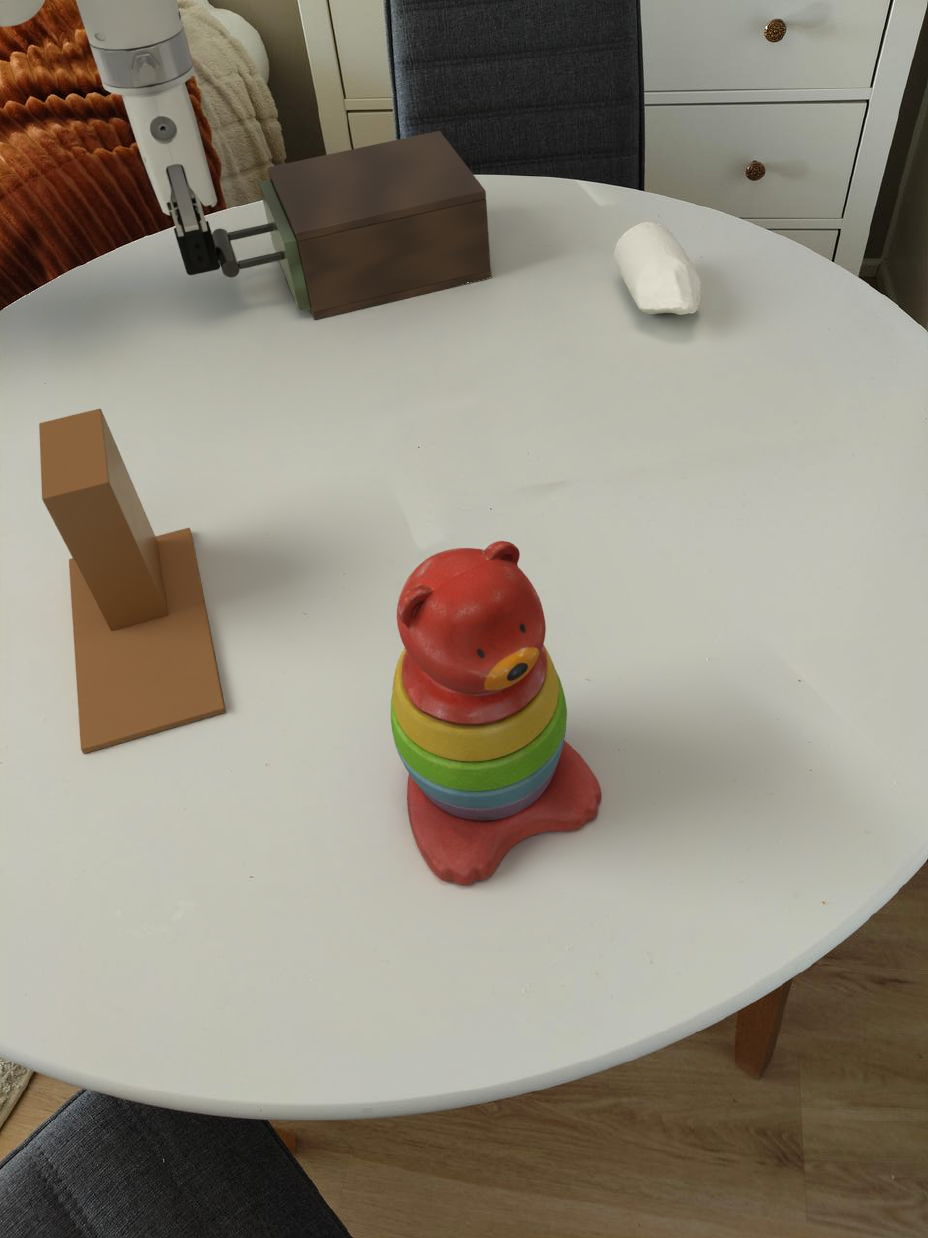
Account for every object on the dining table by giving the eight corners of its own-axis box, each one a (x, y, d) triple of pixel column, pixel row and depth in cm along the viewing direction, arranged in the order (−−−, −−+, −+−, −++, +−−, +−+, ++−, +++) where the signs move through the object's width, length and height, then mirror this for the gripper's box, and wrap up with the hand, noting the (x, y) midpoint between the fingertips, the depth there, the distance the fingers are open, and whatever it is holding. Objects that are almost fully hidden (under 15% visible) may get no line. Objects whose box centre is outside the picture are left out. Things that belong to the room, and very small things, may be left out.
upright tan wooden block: (103, 555, 73) (38, 422, 64) (157, 540, 74) (100, 407, 65) (110, 631, 68) (41, 498, 59) (169, 615, 68) (109, 481, 59)
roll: (645, 350, 86) (650, 291, 82) (611, 280, 94) (613, 223, 90) (713, 340, 86) (721, 280, 82) (673, 271, 94) (678, 214, 90)
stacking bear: (447, 901, 53) (406, 700, 40) (369, 765, 59) (312, 552, 46) (616, 811, 56) (630, 595, 43) (525, 690, 62) (513, 469, 49)
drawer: (238, 325, 92) (218, 257, 87) (217, 259, 101) (199, 193, 96) (466, 271, 95) (460, 202, 90) (427, 212, 104) (420, 146, 99)
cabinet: (314, 320, 93) (295, 232, 87) (285, 250, 103) (267, 166, 96) (491, 277, 96) (486, 190, 90) (447, 213, 105) (439, 130, 99)
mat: (71, 563, 73) (68, 559, 73) (191, 531, 75) (189, 527, 74) (83, 754, 62) (80, 749, 61) (226, 712, 63) (224, 707, 63)
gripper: (201, 81, 76) (255, 298, 90) (179, 22, 86) (230, 225, 100) (102, 99, 75) (172, 316, 89) (91, 37, 85) (156, 241, 98)
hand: (203, 268), depth 94 cm, fingers closed
